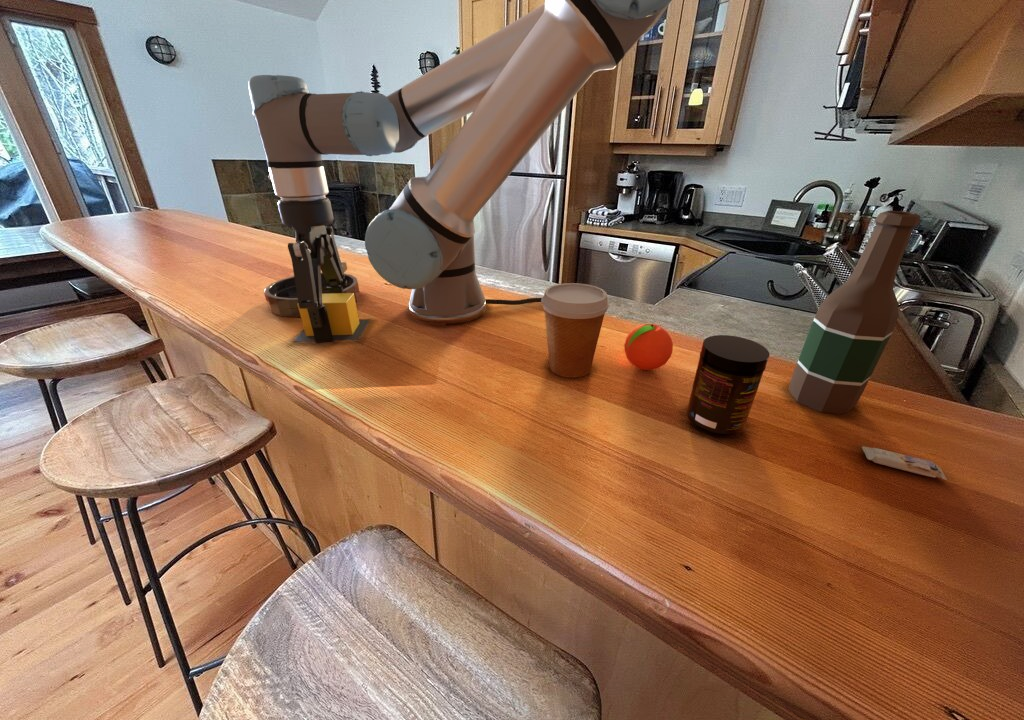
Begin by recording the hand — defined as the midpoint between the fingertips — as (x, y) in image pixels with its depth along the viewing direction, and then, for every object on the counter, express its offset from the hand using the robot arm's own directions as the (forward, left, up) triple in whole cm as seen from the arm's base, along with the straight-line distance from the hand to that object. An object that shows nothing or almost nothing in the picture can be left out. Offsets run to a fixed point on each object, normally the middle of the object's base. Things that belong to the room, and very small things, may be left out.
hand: (333, 330), depth 74 cm
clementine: (-51, +17, -1) cm, 54 cm away
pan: (+8, -15, 0) cm, 17 cm away
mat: (0, 0, 0) cm, 0 cm away
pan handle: (+8, -29, +1) cm, 30 cm away
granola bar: (-71, +40, 0) cm, 81 cm away
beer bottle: (-72, +27, -1) cm, 77 cm away
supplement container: (-55, +31, -1) cm, 63 cm away
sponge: (0, 0, 0) cm, 0 cm away
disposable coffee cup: (-40, +16, -1) cm, 43 cm away
